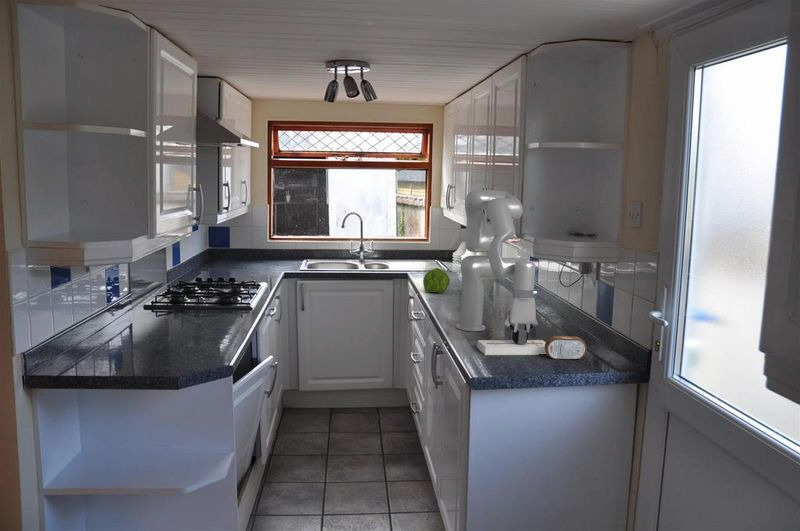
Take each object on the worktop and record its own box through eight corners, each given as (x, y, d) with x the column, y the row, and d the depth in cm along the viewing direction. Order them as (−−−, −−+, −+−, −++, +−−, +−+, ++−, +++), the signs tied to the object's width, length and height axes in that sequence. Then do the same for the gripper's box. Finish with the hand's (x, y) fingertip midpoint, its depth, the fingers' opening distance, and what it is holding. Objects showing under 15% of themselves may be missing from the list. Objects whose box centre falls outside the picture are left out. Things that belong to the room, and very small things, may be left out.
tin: (584, 358, 238) (585, 336, 237) (586, 361, 235) (588, 338, 234) (543, 357, 238) (545, 335, 237) (545, 359, 235) (547, 337, 234)
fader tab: (513, 340, 247) (514, 327, 246) (521, 340, 247) (522, 327, 247) (518, 344, 242) (519, 331, 241) (526, 344, 242) (526, 331, 242)
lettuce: (424, 288, 384) (449, 292, 383) (420, 292, 360) (447, 296, 358) (428, 264, 383) (453, 268, 382) (424, 266, 359) (451, 270, 358)
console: (477, 347, 247) (477, 339, 247) (541, 347, 252) (542, 339, 251) (485, 355, 237) (485, 346, 237) (552, 354, 242) (552, 346, 242)
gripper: (540, 292, 247) (536, 339, 249) (498, 291, 244) (495, 339, 247) (547, 295, 240) (544, 344, 242) (505, 295, 237) (502, 344, 239)
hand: (519, 341), depth 244 cm, fingers closed on fader tab, 3 cm apart
